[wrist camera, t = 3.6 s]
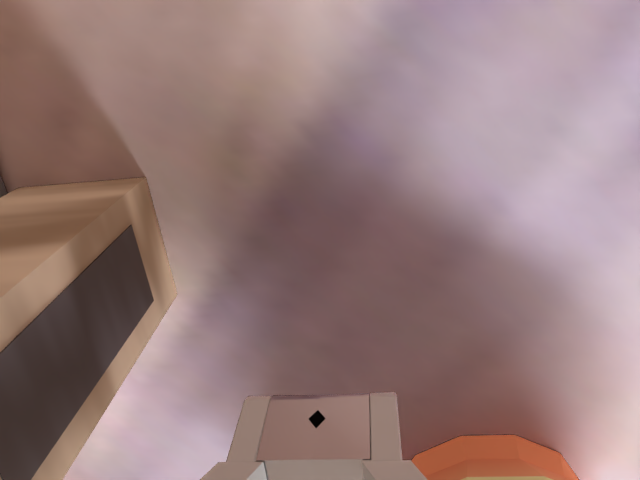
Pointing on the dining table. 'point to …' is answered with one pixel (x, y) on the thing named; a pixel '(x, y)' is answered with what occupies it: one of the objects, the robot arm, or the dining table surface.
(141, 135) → the dining table surface
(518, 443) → the potted cactus
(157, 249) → the birch block
